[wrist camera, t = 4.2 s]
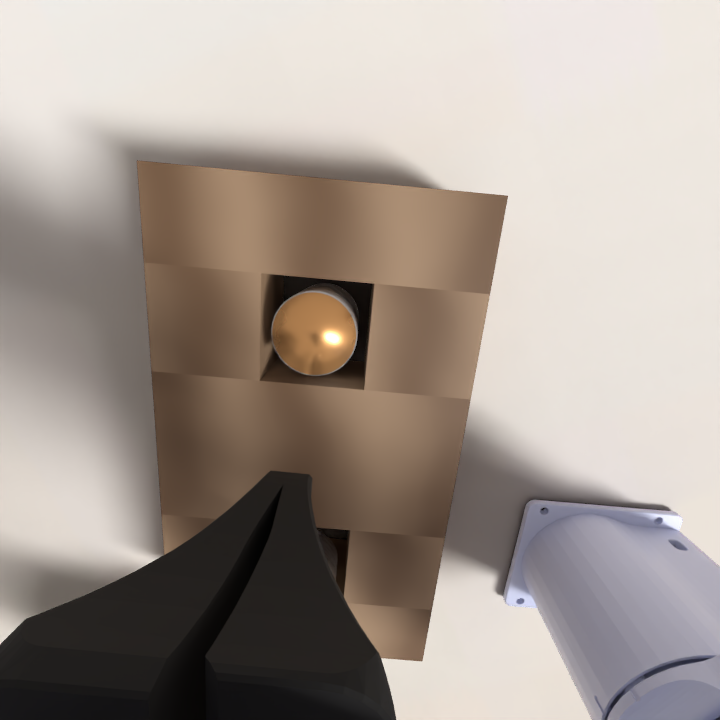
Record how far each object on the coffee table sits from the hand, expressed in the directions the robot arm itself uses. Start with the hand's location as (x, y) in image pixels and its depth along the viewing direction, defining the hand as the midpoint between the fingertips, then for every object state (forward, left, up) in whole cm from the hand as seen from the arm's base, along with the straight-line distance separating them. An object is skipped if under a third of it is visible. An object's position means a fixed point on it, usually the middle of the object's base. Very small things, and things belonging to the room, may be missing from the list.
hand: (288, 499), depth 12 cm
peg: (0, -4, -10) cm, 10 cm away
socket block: (0, +2, -10) cm, 10 cm away
